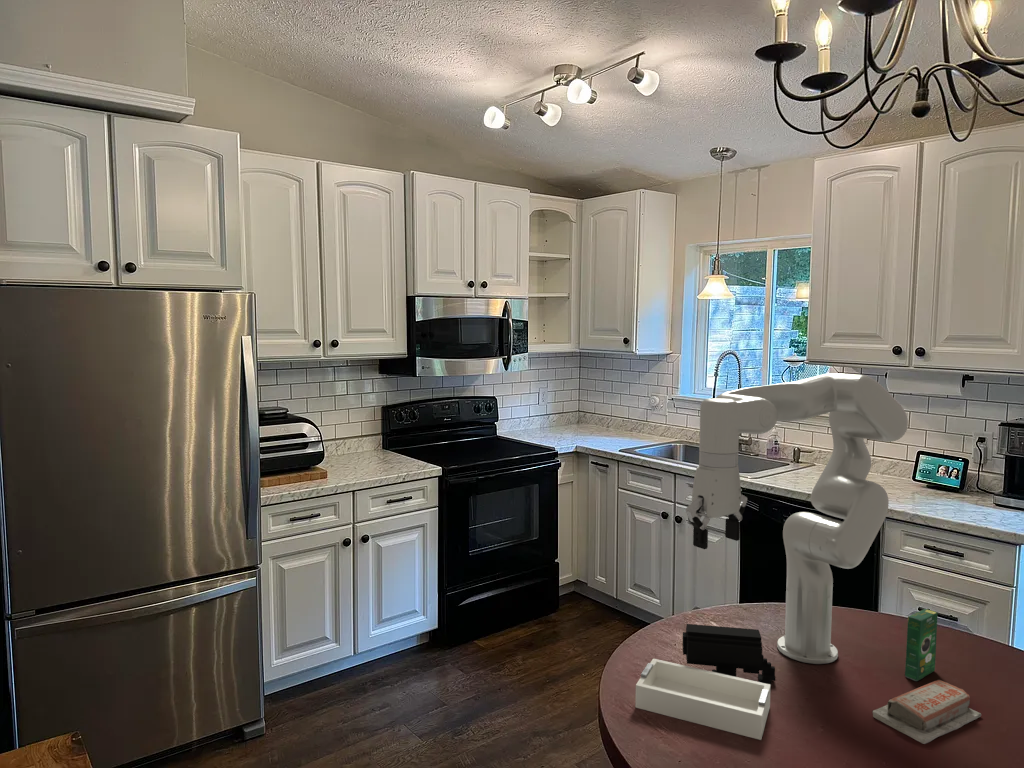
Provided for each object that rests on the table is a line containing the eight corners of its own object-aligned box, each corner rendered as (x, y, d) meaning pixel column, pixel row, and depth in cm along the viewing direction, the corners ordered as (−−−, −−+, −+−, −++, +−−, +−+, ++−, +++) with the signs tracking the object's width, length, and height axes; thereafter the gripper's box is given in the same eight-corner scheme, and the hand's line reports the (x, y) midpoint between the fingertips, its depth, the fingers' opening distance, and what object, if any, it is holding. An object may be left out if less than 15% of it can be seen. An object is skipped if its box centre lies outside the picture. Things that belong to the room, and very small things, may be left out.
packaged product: (929, 671, 137) (982, 695, 128) (928, 694, 137) (981, 719, 129) (872, 694, 128) (925, 720, 120) (871, 719, 129) (924, 747, 120)
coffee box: (921, 665, 148) (924, 606, 147) (936, 671, 146) (939, 611, 145) (903, 676, 144) (906, 615, 143) (918, 682, 141) (921, 620, 140)
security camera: (777, 690, 138) (778, 642, 138) (683, 681, 142) (684, 634, 141) (771, 673, 145) (772, 627, 144) (681, 665, 149) (682, 620, 148)
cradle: (652, 679, 143) (653, 655, 142) (770, 707, 132) (770, 681, 132) (635, 707, 132) (635, 681, 132) (761, 740, 122) (762, 712, 121)
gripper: (731, 452, 146) (729, 531, 147) (674, 461, 136) (672, 545, 138) (761, 458, 140) (759, 540, 141) (703, 468, 130) (702, 556, 131)
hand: (716, 543), depth 139 cm, fingers open, 9 cm apart
